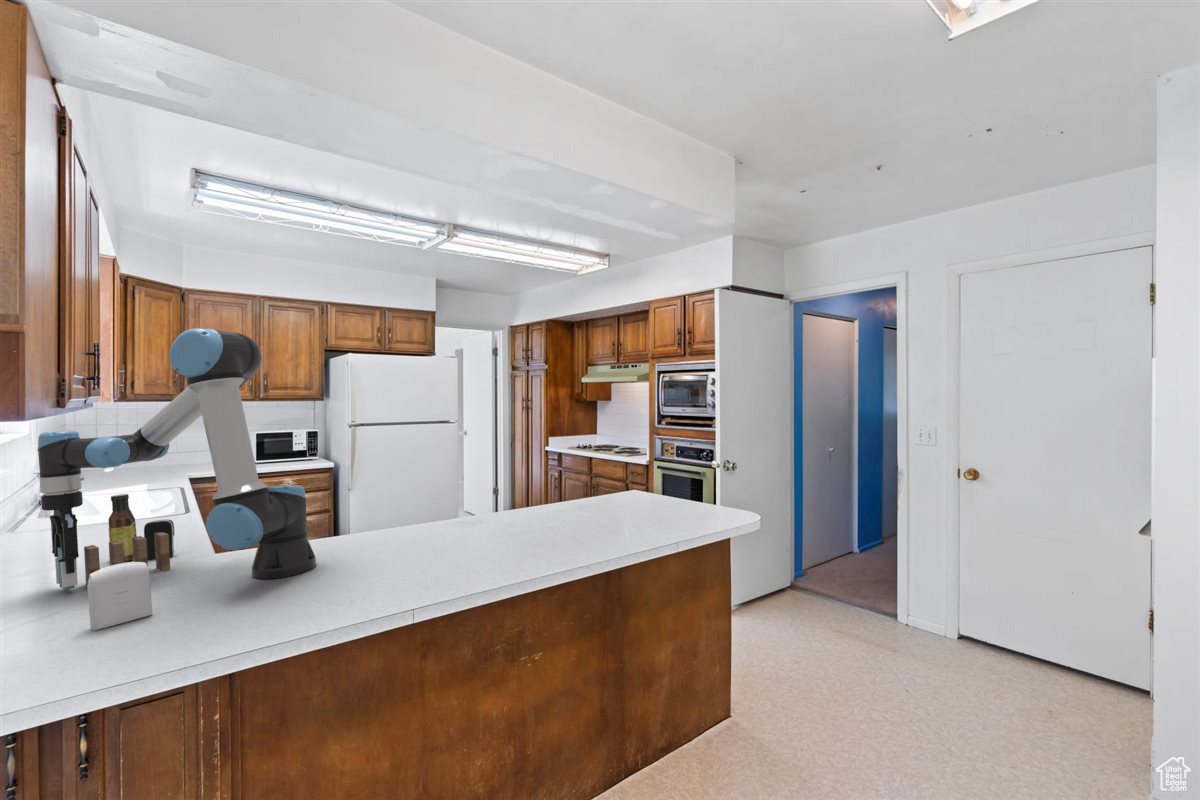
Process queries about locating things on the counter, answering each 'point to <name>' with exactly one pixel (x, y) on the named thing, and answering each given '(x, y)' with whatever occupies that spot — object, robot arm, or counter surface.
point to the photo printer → (119, 594)
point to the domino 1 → (60, 569)
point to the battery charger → (157, 527)
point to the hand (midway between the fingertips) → (66, 583)
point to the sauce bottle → (122, 524)
